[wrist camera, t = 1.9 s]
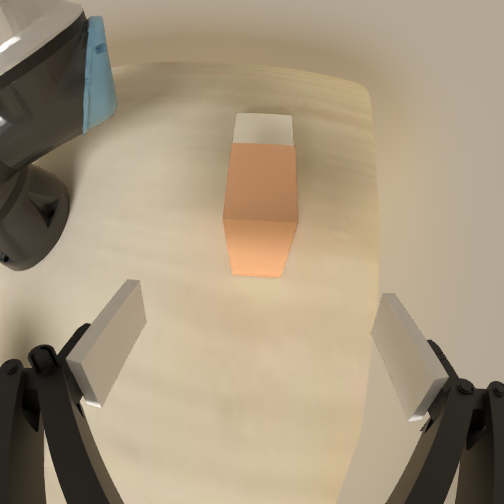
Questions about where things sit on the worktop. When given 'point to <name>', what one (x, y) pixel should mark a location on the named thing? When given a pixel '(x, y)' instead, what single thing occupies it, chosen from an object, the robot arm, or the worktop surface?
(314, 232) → the worktop surface
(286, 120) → the white button box
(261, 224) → the brown box
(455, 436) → the robot arm
